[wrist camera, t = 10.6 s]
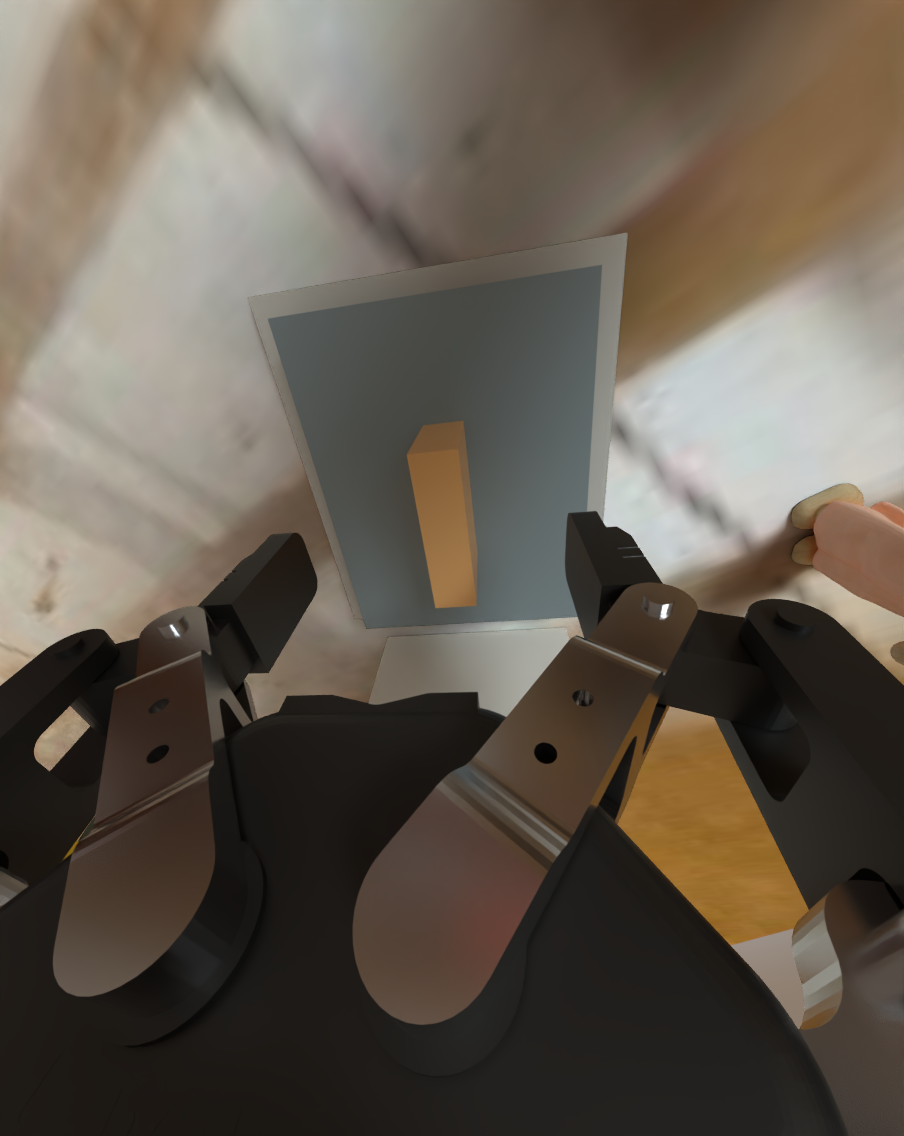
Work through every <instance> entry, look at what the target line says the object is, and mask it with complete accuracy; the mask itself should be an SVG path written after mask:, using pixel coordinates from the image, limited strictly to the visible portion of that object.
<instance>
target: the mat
mask: <svg viewBox="0 0 904 1136" xmlns="http://www.w3.org/2000/svg"><path fill="white" fill-rule="evenodd" d="M627 235H628V232H627V233H621V234H616V235H610V236H604V237H598V238H592V239H586V240H580V241H575V242H569V243H563V244H557V245H551V246H545V247H539V248H534V249H528V250H522V251H516V252H510V253H504V254H499V255H493V256H487V257H481V258H475V259H469V260H463V261H458V262H452V263H446V264H440V265H434V266H428V267H422V268H417V269H411V270H405V271H399V272H393V273H387V274H381V275H376V276H370V277H364V278H358V279H352V280H346V281H340V282H335V283H329V284H323V285H317V286H311V287H305V288H299V289H294V290H288V291H282V292H276V293H270V294H264V295H259V296H253V297H248V300H249V303H250V306H251V309H252V312H253V315H254V318H255V321H256V324H257V327H258V330H259V333H260V336H261V339H262V342H263V345H264V348H265V351H266V354H267V357H268V360H269V363H270V366H271V369H272V372H273V375H274V378H275V381H276V384H277V387H278V390H279V393H280V396H281V399H282V402H283V405H284V408H285V411H286V414H287V417H288V420H289V423H290V426H291V429H292V432H293V435H294V438H295V441H296V444H297V447H298V450H299V453H300V456H301V459H302V462H303V465H304V468H305V471H306V474H307V477H308V480H309V483H310V486H311V489H312V492H313V495H314V498H315V501H316V504H317V507H318V510H319V513H320V516H321V519H322V522H323V525H324V528H325V531H326V534H327V537H328V540H329V543H330V546H331V549H332V552H333V555H334V558H335V561H336V564H337V567H338V570H339V573H340V576H341V579H342V582H343V585H344V588H345V591H346V594H347V597H348V600H349V603H350V606H351V609H352V612H353V615H354V618H355V619H363V617H362V614H361V611H360V608H359V605H358V602H357V598H356V595H355V592H354V589H353V586H352V583H351V580H350V576H349V573H348V570H347V567H346V564H345V561H344V558H343V554H342V551H341V548H340V545H339V542H338V539H337V536H336V532H335V529H334V526H333V523H332V520H331V517H330V514H329V510H328V507H327V504H326V501H325V498H324V495H323V492H322V488H321V485H320V482H319V479H318V476H317V473H316V470H315V466H314V463H313V460H312V457H311V454H310V451H309V448H308V444H307V441H306V438H305V435H304V432H303V429H302V426H301V422H300V419H299V416H298V413H297V410H296V407H295V404H294V400H293V397H292V394H291V391H290V388H289V385H288V382H287V378H286V375H285V372H284V369H283V366H282V363H281V360H280V356H279V353H278V350H277V347H276V344H275V341H274V337H273V334H272V331H271V328H270V325H269V322H268V318H275V317H281V316H287V315H293V314H299V313H306V312H312V311H318V310H324V309H330V308H337V307H343V306H349V305H355V304H361V303H368V302H374V301H380V300H386V299H392V298H399V297H405V296H411V295H417V294H423V293H430V292H436V291H442V290H448V289H454V288H461V287H467V286H473V285H479V284H485V283H492V282H498V281H504V280H510V279H516V278H523V277H529V276H535V275H541V274H547V273H554V272H560V271H566V270H572V269H578V268H585V267H591V266H597V265H602V275H601V291H600V308H599V324H598V340H597V356H596V373H595V389H594V405H593V422H592V438H591V454H590V470H589V487H588V503H587V512H588V511H597V512H598V514H599V516H600V518H601V519H602V521H603V517H604V505H605V493H606V481H607V470H608V458H609V446H610V435H611V423H612V411H613V399H614V388H615V376H616V364H617V353H618V341H619V329H620V317H621V306H622V294H623V282H624V271H625V259H626V247H627Z"/></svg>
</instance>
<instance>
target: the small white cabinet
mask: <svg viewBox="0 0 904 1136" xmlns="http://www.w3.org/2000/svg"><path fill="white" fill-rule="evenodd" d="M568 641H569V638H568V634H567V630H566V628H548V629H529V630H510V631H491V632H472V633H454V634H435V635H416V636H397V637H388V638H387V641H386V645H385V648H384V651H383V655H382V658H381V661H380V665H379V668H378V672H377V675H376V678H375V682H374V685H373V688H372V692H371V695H370V698H369V702H368V703H369V704H374V705H379V704H384V703H388V702H392V701H397V700H401V699H405V698H409V697H414V696H418V695H422V694H426V693H448V692H478V697H479V705H480V708H483V709H488V710H491V711H494V712H496V713H499V714H501V715H504V716H506V717H507V716H508V715H509V713H510V712H511V711H512V710H513V709H514V707H515V706H516V705H517V704H518V702H519V701H520V700H521V699H522V697H523V696H524V695H525V694H526V693H527V691H528V690H529V689H530V688H531V686H532V685H533V684H534V683H535V682H536V680H537V679H538V678H539V677H540V675H541V674H542V673H543V672H544V670H545V669H546V668H547V667H548V666H549V664H550V663H551V662H552V661H553V659H554V658H555V657H556V656H557V655H558V653H559V652H560V651H561V650H562V648H563V647H564V646H565V645H566V643H567V642H568Z"/></svg>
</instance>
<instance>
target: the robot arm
mask: <svg viewBox="0 0 904 1136" xmlns="http://www.w3.org/2000/svg"><path fill="white" fill-rule="evenodd" d="M565 574H566V580H567V583H568V587H569V590H570V593H571V596H572V600H573V603H574V606H575V609H576V613H577V616H578V619H579V622H580V625H581V629H582V632H583V635H584V638H582V637H580V636H574V637H572V638H571V639H570V640H569V641H568V642H567V643H566V645H565V646H564V647H563V648H562V650H561V651H560V652H559V653H558V655H557V656H556V657H555V658H554V659H553V661H552V662H551V663H550V664H549V666H548V667H547V668H546V669H545V670H544V672H543V673H542V674H541V675H540V677H539V678H538V679H537V680H536V682H535V683H534V684H533V685H532V686H531V688H530V689H529V690H528V691H527V693H526V694H525V695H524V696H523V697H522V699H521V700H520V701H519V702H518V704H517V705H516V706H515V707H514V709H513V710H512V711H511V712H510V713H509V715H508V716H507V717H506V716H504V715H501V714H499V713H496V712H494V711H491V710H488V709H483V708H480V705H479V697H478V692H448V693H426V694H422V695H418V696H414V697H409V698H405V699H401V700H397V701H392V702H388V703H384V704H379V705H374V704H369V703H364V702H360V701H356V700H351V699H347V698H343V697H338V696H334V695H307V696H287V697H286V699H285V701H284V703H283V705H282V707H281V708H280V710H279V712H277V713H274V714H271V715H268V716H265V717H262V718H260V719H258V718H257V714H256V710H255V706H254V702H253V698H252V695H251V691H250V687H249V685H248V683H247V682H246V680H245V678H246V676H247V675H248V673H269V671H270V670H271V668H272V666H273V665H274V663H275V661H276V660H277V658H278V656H279V655H280V653H281V651H282V650H283V648H284V646H285V645H286V643H287V641H288V640H289V638H290V636H291V634H292V633H293V631H294V629H295V628H296V626H297V624H298V623H299V621H300V619H301V618H302V616H303V614H304V613H305V611H306V609H307V608H308V606H309V604H310V603H311V601H312V599H313V598H314V596H315V594H316V591H317V576H316V573H315V570H314V568H313V565H312V562H311V560H310V557H309V554H308V551H307V549H306V546H305V543H304V541H303V539H302V537H301V536H300V535H299V534H298V533H285V534H273V535H271V536H269V537H268V538H267V540H266V541H265V542H264V543H263V544H262V545H261V546H260V547H259V548H258V549H257V550H256V551H255V552H254V553H253V554H252V555H250V556H248V557H247V558H245V559H244V560H242V561H241V562H240V563H239V564H238V565H237V566H236V567H235V568H234V569H233V570H232V573H229V574H228V576H227V577H226V578H225V579H224V581H222V582H221V583H220V584H219V585H218V586H217V587H216V588H215V589H214V590H213V591H212V592H211V593H210V594H209V595H208V596H207V597H206V598H205V599H204V600H203V601H202V602H201V603H200V604H199V605H198V606H197V607H196V606H190V607H183V608H179V609H176V610H173V611H171V612H168V613H166V614H164V615H162V616H160V617H159V618H157V619H155V620H154V621H152V622H151V623H150V624H149V625H147V626H146V627H145V628H144V630H143V631H142V632H141V634H140V637H139V638H138V639H134V640H130V641H126V642H122V643H118V644H115V643H114V642H113V640H112V639H111V638H110V637H109V635H108V634H107V633H106V632H105V631H104V630H102V629H91V630H86V631H82V632H79V633H76V634H73V635H71V636H68V637H66V638H64V639H62V640H60V641H58V642H56V643H55V644H53V645H51V646H50V647H48V648H47V649H45V650H44V651H43V652H42V653H40V654H39V655H38V656H37V657H35V658H34V659H33V660H32V661H30V662H29V663H28V664H27V665H26V666H24V667H23V668H22V669H21V670H19V671H18V672H17V673H16V674H14V675H13V676H12V677H11V678H10V679H8V680H7V681H6V682H5V683H3V684H2V685H1V686H0V1136H904V685H903V684H902V683H901V682H900V681H899V680H897V679H896V678H895V677H894V676H893V675H892V674H891V673H890V672H889V671H888V670H887V669H886V668H885V667H884V666H883V665H882V664H881V663H880V662H879V661H878V660H877V659H876V658H875V657H874V656H873V655H872V654H870V653H869V652H868V651H867V650H866V649H865V648H864V647H863V646H862V645H861V644H860V643H859V642H858V641H857V640H856V639H855V638H854V637H853V636H852V635H851V634H850V633H849V632H848V631H847V630H846V629H845V628H844V627H842V626H841V625H840V624H839V623H838V622H837V621H836V620H835V619H834V618H832V617H831V616H829V615H828V614H826V613H824V612H822V611H820V610H818V609H816V608H814V607H811V606H808V605H806V604H802V603H799V602H795V601H790V600H782V599H766V600H760V601H757V602H755V603H753V604H752V605H751V606H750V607H749V609H748V611H747V614H746V616H745V618H744V617H737V616H731V615H724V614H717V613H711V612H706V611H702V610H698V607H697V604H696V602H695V601H694V599H693V598H692V597H691V596H689V595H688V594H687V593H685V592H684V591H682V590H680V589H678V588H676V587H673V586H670V585H666V584H663V583H662V582H661V580H660V579H659V577H658V576H657V574H656V573H655V571H654V570H653V568H652V567H651V565H650V564H649V562H648V560H647V559H646V557H644V554H643V553H642V551H641V550H640V548H638V545H637V544H636V542H635V541H634V539H633V538H632V536H631V535H630V534H628V533H626V532H625V531H623V530H621V529H620V528H618V527H606V526H605V525H604V523H603V521H602V519H601V518H600V516H599V514H598V512H597V511H588V512H574V513H568V516H567V527H566V547H565ZM69 706H71V707H72V708H73V709H74V710H75V711H76V712H77V713H78V714H79V715H80V716H81V717H82V718H83V719H84V720H85V721H86V722H87V723H88V724H89V725H90V727H89V728H88V729H87V731H86V732H85V733H84V734H83V735H82V736H81V737H80V738H79V740H78V741H77V742H76V743H75V744H74V745H73V746H72V747H71V749H70V750H69V751H68V752H67V753H66V754H65V755H64V756H63V758H62V759H61V760H60V761H59V762H58V763H57V764H56V765H55V767H54V768H53V769H52V770H51V771H48V770H47V769H46V768H45V767H43V766H42V765H41V764H40V763H38V762H37V760H36V759H35V756H34V747H35V744H36V742H37V740H38V738H39V737H40V736H41V734H42V733H43V732H44V731H45V730H46V729H47V728H48V727H49V726H50V725H51V724H52V723H53V722H54V721H55V720H56V719H57V718H58V717H59V716H60V715H61V714H62V713H63V712H64V711H65V710H66V709H67V708H68V707H69ZM670 706H671V707H675V708H679V709H683V710H688V711H692V712H696V713H700V714H704V715H708V716H712V717H714V718H715V720H716V722H717V724H718V726H719V728H720V730H721V732H722V734H723V736H724V738H725V740H726V742H727V744H728V746H729V748H730V751H731V753H732V755H733V757H734V759H735V761H736V763H737V765H738V767H739V769H740V771H741V773H742V775H743V777H744V779H745V781H746V783H747V785H748V787H749V789H750V791H751V793H752V795H753V797H754V799H755V801H756V803H757V805H758V807H759V809H760V811H761V813H762V815H763V817H764V819H765V821H766V823H767V825H768V828H769V830H770V832H771V834H772V836H773V838H774V840H775V842H776V844H777V846H778V848H779V850H780V852H781V854H782V856H783V858H784V860H785V862H786V864H787V866H788V868H789V870H790V872H791V874H792V876H793V878H794V880H795V882H796V884H797V886H798V888H799V890H800V892H801V894H802V896H803V898H804V900H805V902H806V905H807V907H808V909H809V911H808V912H807V913H806V914H805V915H804V916H802V917H801V918H800V919H799V920H798V922H797V923H796V925H795V927H794V931H793V935H792V950H793V956H794V960H795V963H796V967H797V970H798V973H799V976H800V979H801V983H802V987H803V993H804V1000H805V1012H804V1017H803V1023H802V1025H801V1027H800V1029H798V1028H797V1027H796V1026H795V1024H794V1022H793V1021H792V1019H791V1018H790V1017H789V1015H788V1013H787V1012H786V1011H785V1009H784V1008H783V1006H782V1005H781V1003H780V1002H779V1001H778V999H777V998H776V997H775V996H774V994H773V993H772V992H771V990H770V989H769V988H768V987H767V986H766V984H765V983H764V982H763V981H762V980H761V978H760V977H759V976H758V975H757V974H756V973H755V971H753V969H752V968H751V967H750V966H749V965H748V964H747V963H746V962H745V961H744V960H743V958H741V956H740V955H739V954H738V953H737V952H736V951H735V950H734V949H733V948H732V947H731V946H730V945H729V944H728V942H727V941H726V940H725V939H724V938H723V937H722V936H721V935H720V934H719V933H718V932H717V931H716V930H715V929H714V927H713V926H712V925H711V924H710V923H709V922H708V921H707V920H706V919H705V918H704V917H703V916H702V915H701V914H700V913H699V911H698V910H697V909H696V908H695V907H694V906H693V905H692V904H691V903H690V902H689V901H688V900H687V899H686V898H685V897H684V895H683V894H682V893H681V892H680V891H679V890H678V889H677V888H676V887H675V886H674V885H673V884H672V883H671V882H670V880H669V879H668V878H667V877H666V876H665V875H664V874H663V873H662V872H661V871H660V870H659V869H658V868H657V867H656V865H655V864H654V863H653V862H652V861H651V860H650V859H649V858H648V857H647V856H646V855H645V854H644V853H643V852H642V850H641V849H640V848H639V847H638V846H637V845H636V844H635V843H634V842H633V841H632V840H631V839H630V838H629V837H628V835H627V834H626V833H625V832H624V831H623V830H622V829H621V828H620V827H619V826H618V825H617V824H618V822H619V820H620V818H621V815H622V813H623V811H624V809H625V807H626V804H627V802H628V800H629V797H630V795H631V792H632V789H633V787H634V784H635V781H636V778H637V776H638V773H639V771H640V768H641V766H642V764H643V762H644V760H645V758H646V755H647V753H648V751H649V749H650V747H651V745H652V743H653V741H654V738H655V736H656V734H657V732H658V730H659V728H660V726H661V724H662V721H663V719H664V717H665V715H666V713H667V711H668V709H669V707H670ZM94 816H95V821H94V825H93V828H92V830H91V831H90V832H89V834H87V835H86V836H84V837H83V838H82V839H81V840H80V841H79V842H78V843H77V845H76V847H75V849H74V851H73V853H72V854H70V855H69V856H68V857H66V858H65V859H64V857H65V856H66V855H67V853H68V852H69V850H70V849H71V848H72V846H73V845H74V843H75V842H76V841H77V839H78V838H79V837H80V835H81V834H82V832H83V831H84V830H85V828H86V827H87V825H88V824H89V823H90V821H91V820H92V819H93V817H94ZM63 859H64V860H63Z"/></svg>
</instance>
